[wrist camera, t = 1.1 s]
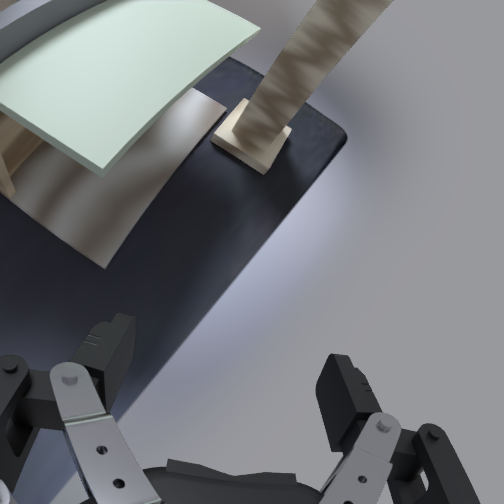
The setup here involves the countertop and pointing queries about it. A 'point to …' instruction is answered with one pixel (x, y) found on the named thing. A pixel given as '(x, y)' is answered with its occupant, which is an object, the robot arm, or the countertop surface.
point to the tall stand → (294, 79)
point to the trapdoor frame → (93, 186)
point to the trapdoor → (107, 67)
